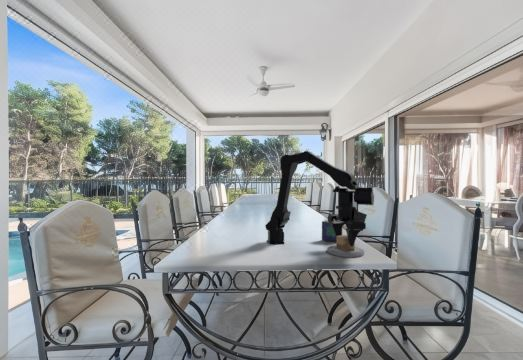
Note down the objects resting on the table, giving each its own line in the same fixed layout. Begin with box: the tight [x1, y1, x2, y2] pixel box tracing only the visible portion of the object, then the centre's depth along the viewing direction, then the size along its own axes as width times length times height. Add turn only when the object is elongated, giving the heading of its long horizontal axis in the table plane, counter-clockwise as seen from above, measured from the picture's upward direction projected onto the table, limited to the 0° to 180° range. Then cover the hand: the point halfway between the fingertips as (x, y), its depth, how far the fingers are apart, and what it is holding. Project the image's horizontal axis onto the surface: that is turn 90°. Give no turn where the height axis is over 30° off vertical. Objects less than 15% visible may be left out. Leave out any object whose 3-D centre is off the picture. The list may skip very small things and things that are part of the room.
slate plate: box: [326, 244, 365, 259], centre depth 112 cm, size 14×14×1 cm
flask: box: [321, 219, 343, 243], centre depth 130 cm, size 9×3×11 cm, turn 74°
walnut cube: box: [335, 234, 356, 251], centre depth 112 cm, size 5×5×5 cm
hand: (345, 243), depth 112 cm, fingers open, 9 cm apart
